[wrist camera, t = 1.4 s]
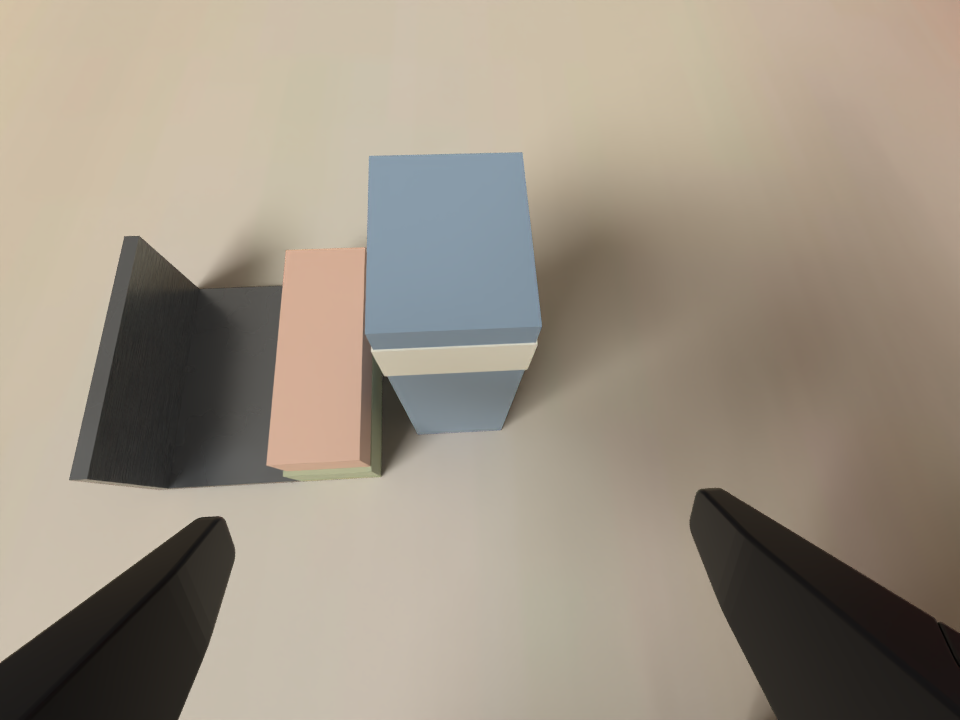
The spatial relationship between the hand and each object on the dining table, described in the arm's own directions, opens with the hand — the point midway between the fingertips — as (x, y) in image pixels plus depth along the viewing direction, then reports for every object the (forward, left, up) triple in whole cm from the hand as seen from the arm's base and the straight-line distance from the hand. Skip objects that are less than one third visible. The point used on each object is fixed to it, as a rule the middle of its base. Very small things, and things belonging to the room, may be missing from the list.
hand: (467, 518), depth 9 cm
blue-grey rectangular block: (+6, +3, -13) cm, 14 cm away
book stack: (+3, +8, -13) cm, 16 cm away
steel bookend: (+1, +12, -13) cm, 18 cm away
